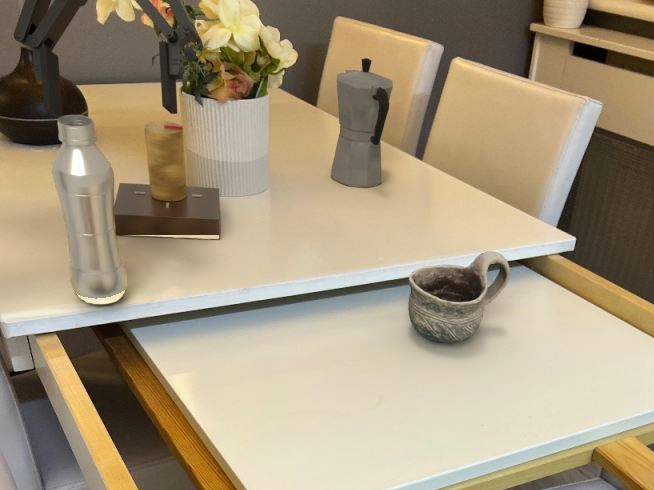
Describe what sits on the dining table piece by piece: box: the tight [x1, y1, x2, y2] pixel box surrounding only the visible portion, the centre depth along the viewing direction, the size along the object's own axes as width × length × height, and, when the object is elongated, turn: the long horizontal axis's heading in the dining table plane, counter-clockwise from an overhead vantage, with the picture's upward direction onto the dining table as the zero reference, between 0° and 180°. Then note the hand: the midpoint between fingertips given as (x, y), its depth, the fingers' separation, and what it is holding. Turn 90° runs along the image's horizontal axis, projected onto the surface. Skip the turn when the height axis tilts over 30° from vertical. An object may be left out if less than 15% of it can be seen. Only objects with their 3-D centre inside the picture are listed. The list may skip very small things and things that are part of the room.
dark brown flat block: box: [114, 182, 221, 236], centre depth 111 cm, size 14×12×3 cm
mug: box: [407, 250, 511, 344], centre depth 94 cm, size 10×12×10 cm
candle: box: [144, 120, 187, 201], centre depth 108 cm, size 5×5×9 cm
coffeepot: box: [330, 57, 394, 189], centre depth 125 cm, size 15×9×18 cm, turn 24°
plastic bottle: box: [51, 114, 128, 299], centre depth 87 cm, size 6×7×20 cm
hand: (111, 112), depth 88 cm, fingers open, 13 cm apart
